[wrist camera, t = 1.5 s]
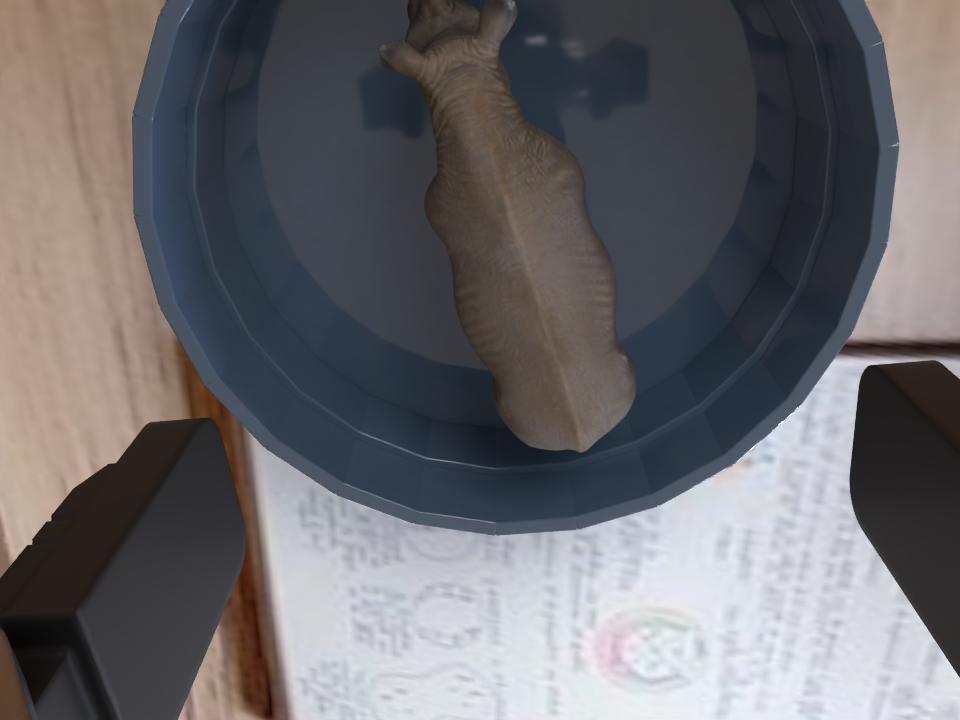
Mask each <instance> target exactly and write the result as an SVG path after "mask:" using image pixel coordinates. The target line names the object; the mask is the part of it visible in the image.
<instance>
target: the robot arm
mask: <svg viewBox="0 0 960 720" xmlns="http://www.w3.org/2000/svg"><path fill="white" fill-rule="evenodd" d="M850 494H851V500H852V505H853V509H854V512H855V515H856V518H857V521H858V523H859V525H860V527H861V528H862V530H863V532H864V533H865V535H866V536H867V538H868V539H869V541H870V542H871V544H872V545H873V547H874V548H875V550H876V551H877V553H878V554H879V556H880V557H881V559H882V560H883V562H884V563H885V565H886V566H887V568H888V569H889V571H890V573H891V574H892V576H893V577H894V579H895V580H896V582H897V583H898V585H899V586H900V588H901V589H902V591H903V592H904V594H905V595H906V597H907V598H908V600H909V601H910V603H911V604H912V606H913V607H914V609H915V610H916V612H917V614H918V615H919V617H920V618H921V620H922V621H923V623H924V624H925V626H926V627H927V629H928V630H929V632H930V633H931V635H932V636H933V638H934V639H935V641H936V642H937V644H938V645H939V647H940V648H941V650H942V651H943V653H944V655H945V656H946V658H947V659H948V661H949V662H950V664H951V665H952V667H953V668H954V670H955V671H956V673H957V674H958V676H959V677H960V379H959V378H957V377H956V376H955V375H954V374H953V373H952V372H951V371H949V370H948V369H947V368H946V367H945V366H944V365H943V364H941V363H940V362H938V361H935V360H930V361H918V362H906V363H893V364H881V365H870V366H868V367H867V368H866V369H865V370H864V372H863V374H862V376H861V379H860V384H859V391H858V401H857V411H856V420H855V430H854V439H853V449H852V459H851V468H850ZM32 540H33V543H32V545H27V546H26V548H25V549H24V550H23V551H22V552H21V554H20V555H19V556H18V557H17V559H16V560H15V561H14V562H13V563H12V565H11V566H10V567H9V568H8V570H7V571H6V572H5V573H4V575H3V576H2V577H1V578H0V720H178V718H179V715H180V713H181V711H182V708H183V706H184V703H185V701H186V699H187V696H188V694H189V692H190V689H191V687H192V685H193V682H194V680H195V678H196V675H197V673H198V670H199V668H200V666H201V663H202V661H203V659H204V656H205V654H206V652H207V649H208V647H209V645H210V642H211V640H212V637H213V635H214V633H215V630H216V628H217V626H218V623H219V621H220V619H221V616H222V614H223V612H224V609H225V607H226V604H227V602H228V600H229V597H230V595H231V593H232V590H233V588H234V586H235V583H236V581H237V579H238V576H239V574H240V571H241V569H242V566H243V562H244V556H245V546H246V535H245V525H244V520H243V515H242V512H241V508H240V504H239V500H238V497H237V493H236V489H235V485H234V482H233V478H232V474H231V470H230V466H229V463H228V459H227V455H226V451H225V448H224V444H223V440H222V437H221V433H220V431H219V428H218V426H217V425H216V423H215V422H214V421H213V420H212V419H211V418H197V419H184V420H172V421H160V422H150V423H148V424H146V426H145V427H144V428H143V429H142V430H141V432H140V433H139V434H138V435H137V437H136V438H135V439H134V441H133V442H132V443H131V444H130V446H129V447H128V448H127V450H126V451H125V452H124V454H123V455H122V456H121V457H120V459H119V460H118V461H117V463H114V464H108V465H107V466H105V467H104V468H102V469H101V470H99V471H98V472H97V473H95V474H94V475H92V476H91V477H89V478H88V479H87V480H85V481H84V482H82V483H81V484H79V485H78V486H77V487H75V488H74V489H73V490H72V491H71V492H70V494H69V495H68V496H67V497H66V498H65V500H64V501H63V502H62V503H61V505H60V506H59V507H58V508H57V509H56V511H55V512H54V513H53V514H52V516H51V521H49V522H46V523H45V524H44V525H43V527H42V528H41V529H40V530H39V532H38V533H37V534H36V535H35V536H34V538H33V539H32Z"/></svg>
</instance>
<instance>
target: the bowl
mask: <svg viewBox="0 0 960 720" xmlns="http://www.w3.org/2000/svg"><path fill="white" fill-rule="evenodd" d="M464 1H465V2H466V3H467V4H469V5H471V6H474V7H475V8H477V9H478V10H479V11H480V12H481V7H482V5H483V4H484V3H485V1H486V0H464ZM513 1H514V2H515V5H516V6H517V11H518V13H517V16H516V19H515V22H514V23H513V25H512V27H511V29H510V30H509V32H508V34H507V35H506V37H505V38H504V39H503V41H502V43H501V45H500V50H499V58H500V60H501V62H502V64H503V66H504V68H505V69H506V71H507V73H508V77H509V80H510V91H511V93H512V94H513V96H514V97H515V99H516V100H517V101H518V104H519V106H520V109H521V110H522V111H524V112H525V114H526V117H527V120H528V122H529V124H531V125H533V126H534V127H537V128H539V129H542V130H544V131H546V132H547V133H549V134H550V135H551V136H553V137H554V138H555V139H557V140H558V141H560V142H561V143H562V144H564V145H565V146H567V147H568V148H569V149H570V150H571V151H572V152H573V154H574V155H575V157H576V158H577V161H578V163H579V165H580V167H581V169H582V171H583V174H584V177H585V183H586V189H585V195H584V201H583V203H584V207H585V209H586V212H587V214H588V216H589V219H590V221H591V223H592V225H593V227H594V229H595V230H596V232H597V233H598V235H599V237H600V238H601V240H602V242H603V244H604V245H605V247H606V249H607V251H608V253H609V255H610V257H611V260H612V263H613V266H614V269H615V272H616V281H617V306H616V322H615V329H616V332H617V336H618V340H619V345H620V346H622V347H624V348H625V349H626V350H627V351H628V353H629V355H630V356H631V358H632V360H633V362H634V365H635V369H636V387H637V390H636V395H635V399H634V401H633V404H632V406H631V408H630V410H629V411H628V413H627V414H626V416H625V417H624V418H623V419H622V420H621V421H620V422H619V423H618V424H617V425H616V426H614V427H613V428H612V429H611V430H610V431H609V432H608V433H607V434H605V435H604V436H603V437H601V438H600V439H599V440H597V441H596V442H595V443H594V444H593V445H592V446H591V447H590V448H589V449H588V450H586V451H585V452H578V451H575V450H569V449H565V450H558V451H556V450H546V449H539V448H534V447H531V446H528V445H527V444H525V443H524V442H523V441H521V440H520V439H519V438H518V437H517V436H516V435H515V434H514V433H513V432H512V431H511V430H510V429H509V428H508V427H507V425H506V424H505V423H504V422H503V420H502V419H501V417H500V415H499V413H498V411H497V409H496V405H495V401H494V395H493V375H492V373H491V372H490V370H489V369H488V368H487V367H486V366H485V365H484V363H483V362H482V361H481V360H480V359H479V357H478V356H477V354H476V353H475V351H474V350H473V348H472V346H471V344H470V342H469V340H468V339H467V337H466V335H465V333H464V331H463V328H462V326H461V324H460V321H459V317H458V314H457V310H456V306H455V301H454V287H453V275H452V265H451V261H450V258H449V255H448V253H447V250H446V245H445V243H444V242H443V241H442V240H441V239H440V238H439V237H438V235H437V234H436V233H435V231H434V230H433V228H432V226H431V224H430V223H429V221H428V219H427V216H426V213H425V210H424V199H425V194H426V191H427V189H428V187H429V185H430V183H431V181H432V180H433V178H434V177H435V176H436V174H437V168H438V167H437V158H436V147H437V143H436V141H435V138H434V133H433V128H432V121H431V114H430V112H429V109H428V107H427V104H426V102H425V99H424V97H423V94H422V92H421V90H420V88H419V86H418V84H417V83H416V81H415V79H414V78H412V77H409V76H406V75H403V74H400V73H397V72H395V71H392V70H389V69H386V68H385V67H383V66H382V65H381V62H380V55H379V51H378V49H379V48H380V46H382V45H384V44H386V43H391V42H395V41H398V40H402V41H405V38H406V33H407V30H408V28H409V23H410V20H409V18H408V12H407V5H408V3H409V2H408V0H167V1H166V2H165V4H164V6H163V7H162V9H161V12H160V13H161V14H159V16H158V20H157V23H156V27H155V31H154V35H153V39H152V42H151V46H150V50H149V54H148V57H147V61H146V65H145V69H144V73H143V76H142V80H141V84H140V88H139V91H138V95H137V99H136V103H135V107H134V110H133V115H134V116H133V117H132V131H133V203H134V215H135V216H134V218H135V222H136V225H137V229H138V232H139V236H140V239H141V243H142V247H143V250H144V254H145V257H146V261H147V264H148V268H149V271H150V275H151V278H152V282H153V286H154V289H155V293H156V296H157V300H158V303H159V306H161V307H160V308H161V310H162V312H163V314H164V315H165V317H166V319H167V321H168V322H169V324H170V326H171V328H172V329H173V331H174V333H175V335H176V336H177V338H178V340H179V341H180V343H181V345H182V347H183V348H184V350H185V352H186V354H187V355H188V357H189V359H190V360H191V362H192V364H193V366H194V367H195V369H196V371H197V373H198V374H199V376H200V378H201V380H202V381H203V383H204V384H206V387H207V388H208V389H209V390H210V391H211V392H212V393H213V394H214V395H215V396H216V397H217V399H218V400H219V401H220V402H221V403H222V404H223V405H224V406H225V407H226V408H227V409H228V410H229V411H230V412H231V413H232V414H233V415H234V416H235V417H236V418H237V419H238V420H239V422H240V423H241V424H242V425H243V426H244V427H245V428H246V429H247V430H248V431H249V432H250V433H251V434H252V435H253V436H254V437H255V438H256V439H257V440H258V441H259V442H260V444H261V445H262V446H263V447H266V449H267V450H268V451H270V452H272V453H273V454H275V455H276V456H278V457H279V458H281V459H282V460H284V461H285V462H287V463H288V464H290V465H291V466H293V467H294V468H296V469H298V470H299V471H301V472H302V473H304V474H305V475H307V476H308V477H310V478H311V479H313V480H314V481H316V482H317V483H319V484H320V485H322V486H323V487H325V488H327V489H328V490H330V491H331V492H333V493H334V494H337V495H338V496H341V497H344V498H346V499H349V500H352V501H354V502H357V503H360V504H362V505H365V506H368V507H370V508H373V509H376V510H378V511H381V512H384V513H386V514H389V515H392V516H394V517H397V518H400V519H402V520H405V521H408V522H410V523H414V524H419V525H426V526H432V527H439V528H446V529H453V530H460V531H467V532H474V533H481V534H488V535H495V534H496V535H510V534H524V533H539V532H553V531H567V530H577V528H578V529H582V528H586V527H589V526H592V525H596V524H599V523H603V522H606V521H610V520H613V519H616V518H620V517H623V516H627V515H630V514H634V513H637V512H641V511H644V510H647V509H651V508H654V507H657V506H658V505H662V504H663V503H665V502H667V501H669V500H671V499H673V498H674V497H676V496H678V495H680V494H682V493H684V492H685V491H687V490H689V489H691V488H693V487H695V486H696V485H698V484H700V483H702V482H704V481H706V480H707V479H709V478H711V477H713V476H715V475H717V474H718V473H720V472H722V471H724V470H726V469H728V468H729V467H731V466H732V465H733V464H736V463H737V462H738V461H739V460H740V459H741V458H742V457H743V456H745V455H746V454H747V453H748V452H749V451H750V450H751V449H753V448H754V447H755V446H756V445H757V444H758V443H759V442H761V441H762V440H763V439H764V438H765V437H766V436H767V435H768V434H770V433H771V432H772V431H773V430H774V429H775V428H776V427H778V426H779V425H780V424H781V423H782V422H783V421H784V420H786V419H787V418H788V417H789V416H790V415H791V414H792V413H793V412H795V411H796V410H797V409H798V408H799V406H801V405H802V403H803V402H804V400H805V399H806V398H807V396H808V395H809V393H810V392H811V391H812V389H813V388H814V386H815V385H816V383H817V382H818V381H819V379H820V378H821V376H822V375H823V374H824V372H825V371H826V369H827V368H828V367H829V365H830V364H831V362H832V361H833V360H834V358H835V357H836V355H837V354H838V353H839V351H840V350H841V348H842V347H843V345H844V344H845V343H846V341H847V340H848V338H849V337H850V336H851V334H852V331H853V330H854V328H855V326H856V323H857V320H858V318H859V315H860V313H861V310H862V308H863V305H864V303H865V300H866V298H867V295H868V293H869V290H870V287H871V285H872V282H873V280H874V277H875V275H876V272H877V270H878V267H879V265H880V262H881V259H882V257H883V254H884V252H885V249H886V247H887V242H888V237H889V229H890V220H891V212H892V203H893V195H894V186H895V178H896V169H897V161H898V152H899V144H898V143H899V137H898V131H897V125H896V118H895V112H894V106H893V99H892V93H891V87H890V80H889V74H888V68H887V61H886V55H885V49H884V42H883V41H881V40H882V37H881V34H880V32H879V30H878V28H877V26H876V24H875V22H874V20H873V18H872V16H871V13H870V11H869V9H868V7H867V5H866V3H865V1H864V0H513Z"/></svg>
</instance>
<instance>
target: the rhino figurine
mask: <svg viewBox="0 0 960 720" xmlns="http://www.w3.org/2000/svg"><path fill="white" fill-rule="evenodd" d="M408 2H409V3H408V5H407V12H408V18H409V20H410V23H409V28H408V30H407V33H406V38H405V41H402V40H398V41H395V42H391V43H386V44H384V45H382V46H380V48H379V49H378V51H379V55H380V62H381V65H382V66H383V67H385V68H386V69H389V70H392V71H395V72H397V73H400V74H403V75H406V76H409V77H412V78H414V79H415V81H416V83H417V84H418V86H419V88H420V90H421V92H422V94H423V97H424V99H425V102H426V104H427V107H428V109H429V112H430V114H431V121H432V128H433V133H434V138H435V141H436V143H437V147H436V158H437V167H438V168H437V174H436V176H435V177H434V178H433V180H432V181H431V183H430V185H429V187H428V189H427V191H426V194H425V199H424V210H425V213H426V216H427V219H428V221H429V223H430V224H431V226H432V228H433V230H434V231H435V233H436V234H437V235H438V237H439V238H440V239H441V240H442V241H443V242H444V243H445V245H446V250H447V253H448V255H449V258H450V261H451V265H452V275H453V287H454V301H455V306H456V310H457V314H458V317H459V321H460V324H461V326H462V328H463V331H464V333H465V335H466V337H467V339H468V340H469V342H470V344H471V346H472V348H473V350H474V351H475V353H476V354H477V356H478V357H479V359H480V360H481V361H482V362H483V363H484V365H485V366H486V367H487V368H488V369H489V370H490V372H491V373H492V375H493V395H494V401H495V405H496V409H497V411H498V413H499V415H500V417H501V419H502V420H503V422H504V423H505V424H506V425H507V427H508V428H509V429H510V430H511V431H512V432H513V433H514V434H515V435H516V436H517V437H518V438H519V439H520V440H521V441H523V442H524V443H525V444H527V445H528V446H531V447H534V448H539V449H546V450H556V451H558V450H565V449H569V450H575V451H578V452H585V451H586V450H588V449H589V448H590V447H591V446H592V445H593V444H594V443H595V442H596V441H597V440H599V439H600V438H601V437H603V436H604V435H605V434H607V433H608V432H609V431H610V430H611V429H612V428H613V427H614V426H616V425H617V424H618V423H619V422H620V421H621V420H622V419H623V418H624V417H625V416H626V414H627V413H628V411H629V410H630V408H631V406H632V404H633V401H634V399H635V395H636V390H637V387H636V369H635V365H634V362H633V360H632V358H631V356H630V355H629V353H628V351H627V350H626V349H625V348H624V347H622V346H620V345H619V340H618V336H617V332H616V329H615V322H616V306H617V281H616V272H615V269H614V266H613V263H612V260H611V257H610V255H609V253H608V251H607V249H606V247H605V245H604V244H603V242H602V240H601V238H600V237H599V235H598V233H597V232H596V230H595V229H594V227H593V225H592V223H591V221H590V219H589V216H588V214H587V212H586V209H585V207H584V203H583V201H584V195H585V189H586V183H585V177H584V174H583V171H582V169H581V167H580V165H579V163H578V161H577V158H576V157H575V155H574V154H573V152H572V151H571V150H570V149H569V148H568V147H567V146H565V145H564V144H562V143H561V142H560V141H558V140H557V139H555V138H554V137H553V136H551V135H550V134H549V133H547V132H546V131H544V130H542V129H539V128H537V127H534V126H533V125H531V124H529V122H528V120H527V117H526V114H525V112H524V111H522V110H521V109H520V106H519V104H518V101H517V100H516V99H515V97H514V96H513V94H512V93H511V91H510V80H509V77H508V73H507V71H506V69H505V68H504V66H503V64H502V62H501V60H500V58H499V50H500V45H501V43H502V41H503V39H504V38H505V37H506V35H507V34H508V32H509V30H510V29H511V27H512V25H513V23H514V22H515V19H516V16H517V13H518V11H517V6H516V5H515V2H514V1H513V0H486V1H485V3H484V4H483V5H482V7H481V12H480V11H479V10H478V9H477V8H475V7H474V6H471V5H469V4H467V3H466V2H465V1H464V0H408Z"/></svg>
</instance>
